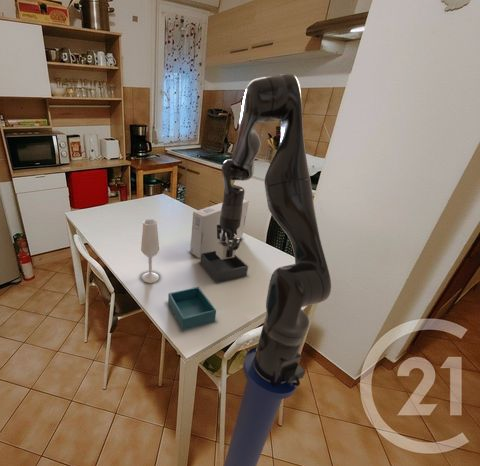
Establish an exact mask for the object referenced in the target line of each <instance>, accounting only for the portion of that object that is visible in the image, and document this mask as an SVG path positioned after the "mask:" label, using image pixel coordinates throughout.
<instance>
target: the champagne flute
mask: <svg viewBox="0 0 480 466" xmlns="http://www.w3.org/2000/svg"><path fill="white" fill-rule="evenodd" d="M141 232H142V233H141V244H140V245H141V246H140V250H141V253H142V254H143V255H144V256H146V257H148V272H146V273H143V274H142V276H141V280H142V281H143V282H145V283H149V284H152V283H156V282H157V281H159V279H160V276H159V275H158V274H157V273H156V272H153V257H155V256H156V255H157V254H158V253H159V252H160V242H159V241H160V240H159V231H158V221H157V220H156V219H152V218H150V219H149V218H147V219H144V220H143V222H142V231H141Z"/></svg>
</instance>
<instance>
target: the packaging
mask: <svg viewBox="0 0 480 466" xmlns="http://www.w3.org/2000/svg"><path fill="white" fill-rule="evenodd" d="M249 202H250V201H249V200H246V199H244V200H243V210H242V216H241V222H240V227H239V228H238V229H237V236H238V238H241V240H242V239H243V235H244V230H245V225H246V219H247V213H248V208H249ZM222 204H223V202H220V203H217V204H216V203H215V204H214V205H211V206H207V207H204V208H201V209H198V210H195V211H193V212H192V224H191V235H190V236H191V237H190V249H189V253H190V254H191V255H193V256H195V257H197V258H198V259H201V254H202V253H207V252H213V251H216V248H217V242H219V239H217V225H219V224H220V216H221V208H222ZM220 235H221V233H220ZM231 241H232V240H231Z"/></svg>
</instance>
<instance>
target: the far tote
mask: <svg viewBox="0 0 480 466" xmlns="http://www.w3.org/2000/svg"><path fill="white" fill-rule="evenodd" d="M200 264H201V265H202V266H203V268H204V269H205V270H206V271H207V272H208V273H209V275H210V276H211V277H212V278H213V279H214V280H215V282H216V283H220V282H227V281H230V280H235V279H239V278H243V277H247V274H248V270H249V266H248V264H247V263H245V262H244V261H243V260H242V259H241V258H240V257H239V256H237V254H235V257H233V258H228V259H223V260H221V259H220V258H219V257H218V256H217V255H216V250H215V251H213V252H207V253H202V254H201V257H200Z"/></svg>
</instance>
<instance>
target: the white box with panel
mask: <svg viewBox="0 0 480 466" xmlns="http://www.w3.org/2000/svg"><path fill="white" fill-rule="evenodd" d="M229 241H231V240H229ZM231 245H232V244H230V246H231ZM215 251H216V255H217V256H218V257H219V258H220V259H221V260H223V259H228V258H227V257H226V254H227V244H226V241H222V242H217V248H216V250H215ZM236 251H237V250H233V254H232V257H229V258H233V257H235V255H236Z"/></svg>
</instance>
